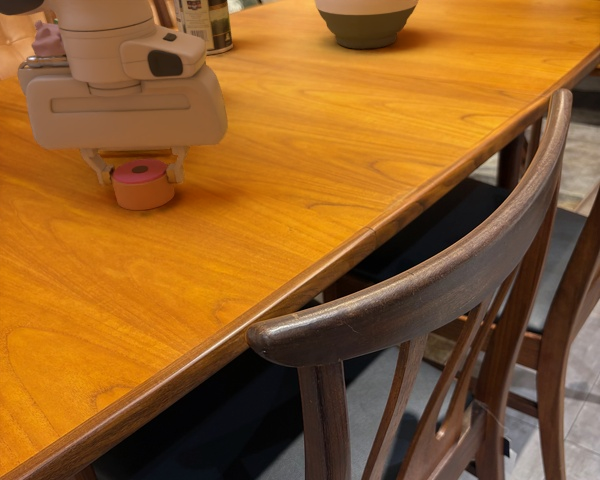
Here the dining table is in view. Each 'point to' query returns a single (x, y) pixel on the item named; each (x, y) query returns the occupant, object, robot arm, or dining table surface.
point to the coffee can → (206, 22)
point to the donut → (142, 184)
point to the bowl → (365, 20)
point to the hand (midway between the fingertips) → (143, 182)
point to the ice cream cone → (47, 40)
